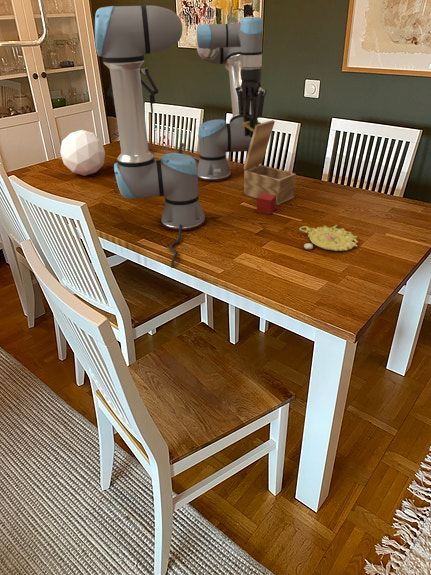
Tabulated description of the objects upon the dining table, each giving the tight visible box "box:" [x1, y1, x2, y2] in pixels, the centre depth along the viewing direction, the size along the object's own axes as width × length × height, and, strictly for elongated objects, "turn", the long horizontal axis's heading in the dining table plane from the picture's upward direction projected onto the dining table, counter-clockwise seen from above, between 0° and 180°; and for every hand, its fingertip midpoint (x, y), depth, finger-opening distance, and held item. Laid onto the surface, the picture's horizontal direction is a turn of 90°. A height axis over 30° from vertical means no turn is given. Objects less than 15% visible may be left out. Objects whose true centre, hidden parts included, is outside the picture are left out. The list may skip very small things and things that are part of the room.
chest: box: [243, 164, 297, 206], centre depth 172 cm, size 17×10×10 cm, turn 45°
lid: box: [242, 119, 276, 171], centre depth 170 cm, size 18×10×8 cm
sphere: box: [59, 129, 106, 177], centre depth 200 cm, size 19×20×20 cm
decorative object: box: [299, 224, 359, 252], centre depth 141 cm, size 21×2×20 cm
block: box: [256, 193, 277, 215], centre depth 161 cm, size 5×5×5 cm
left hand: (135, 113), depth 181 cm, fingers open, 13 cm apart
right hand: (250, 135), depth 170 cm, fingers closed on lid, 2 cm apart
